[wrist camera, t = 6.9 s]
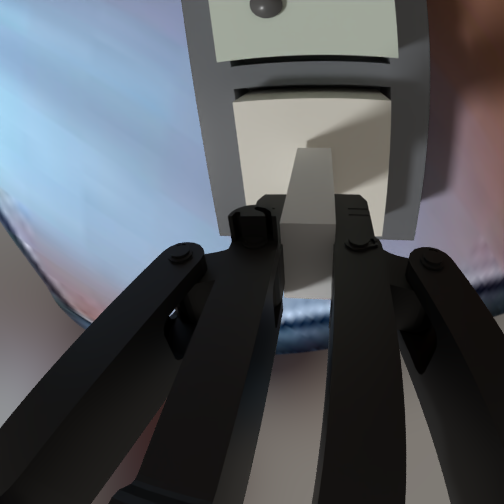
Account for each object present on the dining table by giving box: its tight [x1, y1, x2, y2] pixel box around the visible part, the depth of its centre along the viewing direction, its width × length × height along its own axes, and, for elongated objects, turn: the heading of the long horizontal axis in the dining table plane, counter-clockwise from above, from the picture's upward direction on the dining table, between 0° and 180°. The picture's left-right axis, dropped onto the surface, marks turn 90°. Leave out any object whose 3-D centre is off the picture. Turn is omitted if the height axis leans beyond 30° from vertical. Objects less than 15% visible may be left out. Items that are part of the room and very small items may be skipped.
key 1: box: [233, 88, 391, 236], centre depth 16 cm, size 7×7×4 cm
